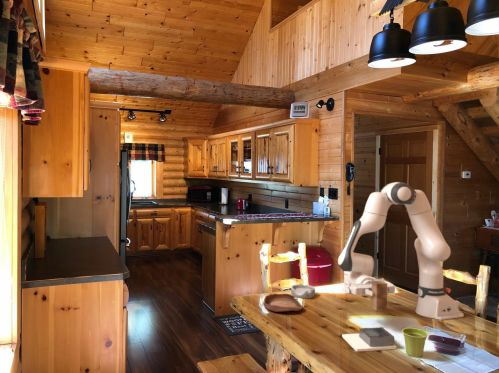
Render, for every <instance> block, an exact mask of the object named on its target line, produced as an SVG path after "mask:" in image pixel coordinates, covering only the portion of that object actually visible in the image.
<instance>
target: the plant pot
mask: <svg viewBox="0 0 499 373" xmlns="http://www.w3.org/2000/svg"><path fill="white" fill-rule="evenodd" d="M401 332H402V335H403V339H404V346H405V348H404V349H405V354H406V355H408V356H412V357H414V358H421V357H423V356H422V355H424V350H425V345H426V340H427V338H428V336H429V333H428V332H427V331H425V330H423V329H421V328H416V327H405V328H402V329H401Z"/></svg>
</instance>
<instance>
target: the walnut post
mask: <svg viewBox="0 0 499 373" xmlns="http://www.w3.org/2000/svg"><path fill="white" fill-rule="evenodd" d="M372 291H374V292H375V296H371V301H370V302H371V308H372V309H373V310H375V311H376V312H379V311H380V312H381V311H387V310H388V295H387V283H385V282H383V281H372Z"/></svg>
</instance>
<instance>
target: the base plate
mask: <svg viewBox="0 0 499 373" xmlns="http://www.w3.org/2000/svg"><path fill="white" fill-rule="evenodd" d="M341 335H342V336H341V337H342V339H344V340H345V341H346V342H347V343H348V344H349V346H350V347H351V348H352V349H353V350H354V351H355V352H357V353H358V352H372V351H373V352H374V351H386V350H388V351H389V350H397V345H396V344H394V345H391V346H376V347H370V346H369V345H368V344H366V343H365V342H364V341H363V340H362V339H361V338H360V337H359V333H345V334H341Z"/></svg>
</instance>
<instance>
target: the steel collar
mask: <svg viewBox="0 0 499 373" xmlns="http://www.w3.org/2000/svg"><path fill="white" fill-rule="evenodd" d="M358 334H359V337H360V338H361V339H362V340H363V341H364V342H365V343H366V344H368V345H369V346H370V347H376V346H391V345H395V336H394V335H393V334H392V333H391V332H389V331H387V330H386V329H385V328H384V327H381V326H380V327H379V326H377V327H364V328H363V327H362V328H359V329H358Z"/></svg>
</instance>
